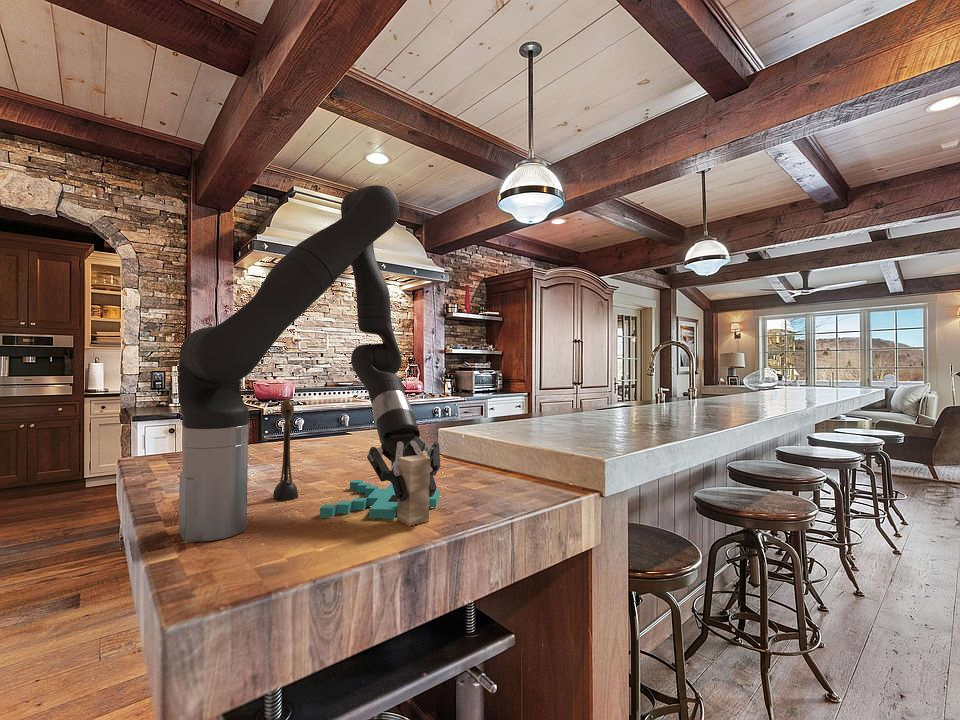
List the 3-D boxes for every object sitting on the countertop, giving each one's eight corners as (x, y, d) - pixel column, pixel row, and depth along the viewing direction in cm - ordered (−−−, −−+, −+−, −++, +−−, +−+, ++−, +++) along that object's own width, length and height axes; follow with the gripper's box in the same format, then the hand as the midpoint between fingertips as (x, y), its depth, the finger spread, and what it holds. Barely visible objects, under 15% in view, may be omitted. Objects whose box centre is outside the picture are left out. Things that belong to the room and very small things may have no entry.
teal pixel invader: (319, 520, 82) (431, 522, 82) (319, 508, 83) (431, 510, 82) (352, 489, 102) (442, 491, 102) (353, 479, 103) (443, 481, 102)
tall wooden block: (409, 526, 79) (410, 461, 79) (390, 516, 83) (391, 455, 84) (428, 521, 81) (430, 458, 81) (409, 512, 86) (410, 452, 86)
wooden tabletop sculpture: (298, 501, 92) (300, 400, 92) (272, 503, 90) (274, 400, 90) (297, 493, 97) (298, 398, 98) (273, 495, 96) (275, 398, 96)
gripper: (362, 408, 84) (383, 490, 74) (434, 405, 92) (462, 480, 81) (354, 433, 89) (372, 514, 78) (422, 429, 96) (448, 502, 86)
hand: (418, 496), depth 80 cm, fingers closed on tall wooden block, 4 cm apart
